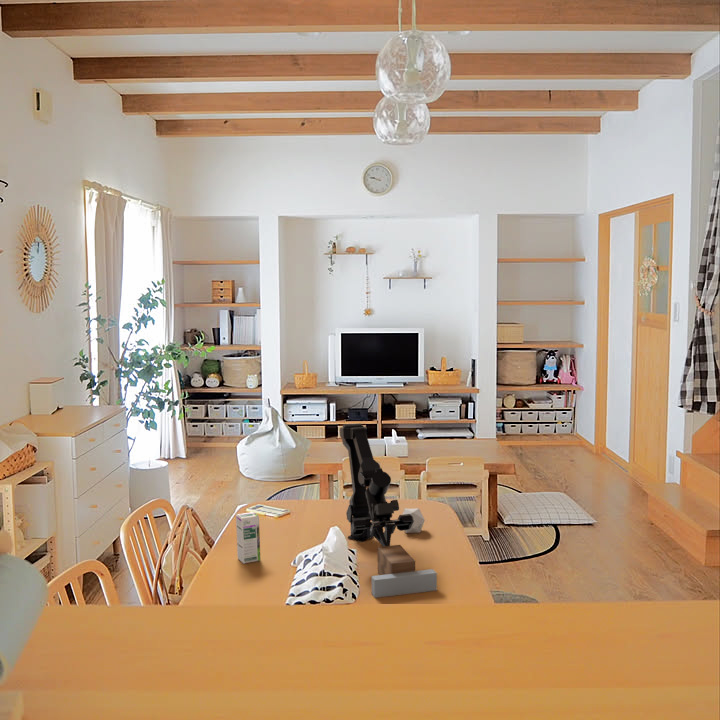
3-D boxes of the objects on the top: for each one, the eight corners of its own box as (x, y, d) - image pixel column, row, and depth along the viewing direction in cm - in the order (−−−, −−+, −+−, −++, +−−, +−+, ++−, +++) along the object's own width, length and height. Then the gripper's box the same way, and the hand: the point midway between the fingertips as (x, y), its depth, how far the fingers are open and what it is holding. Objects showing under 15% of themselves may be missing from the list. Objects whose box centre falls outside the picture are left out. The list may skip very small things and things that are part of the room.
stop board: (371, 593, 212) (371, 576, 212) (433, 586, 217) (432, 569, 216) (374, 597, 209) (374, 580, 209) (436, 590, 214) (436, 573, 213)
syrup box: (243, 564, 236) (241, 518, 234) (237, 558, 241) (235, 513, 240) (260, 560, 238) (259, 515, 237) (254, 555, 244) (253, 510, 242)
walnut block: (377, 573, 227) (377, 547, 226) (400, 570, 229) (400, 544, 228) (391, 591, 214) (391, 563, 213) (415, 588, 215) (415, 561, 215)
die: (417, 539, 259) (431, 514, 261) (395, 525, 260) (409, 501, 262) (415, 539, 267) (428, 515, 269) (393, 527, 268) (407, 502, 270)
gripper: (352, 493, 228) (362, 541, 219) (411, 488, 233) (424, 535, 224) (346, 511, 237) (355, 558, 227) (403, 506, 242) (415, 551, 232)
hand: (387, 550), depth 228 cm, fingers closed, pressing on walnut block
